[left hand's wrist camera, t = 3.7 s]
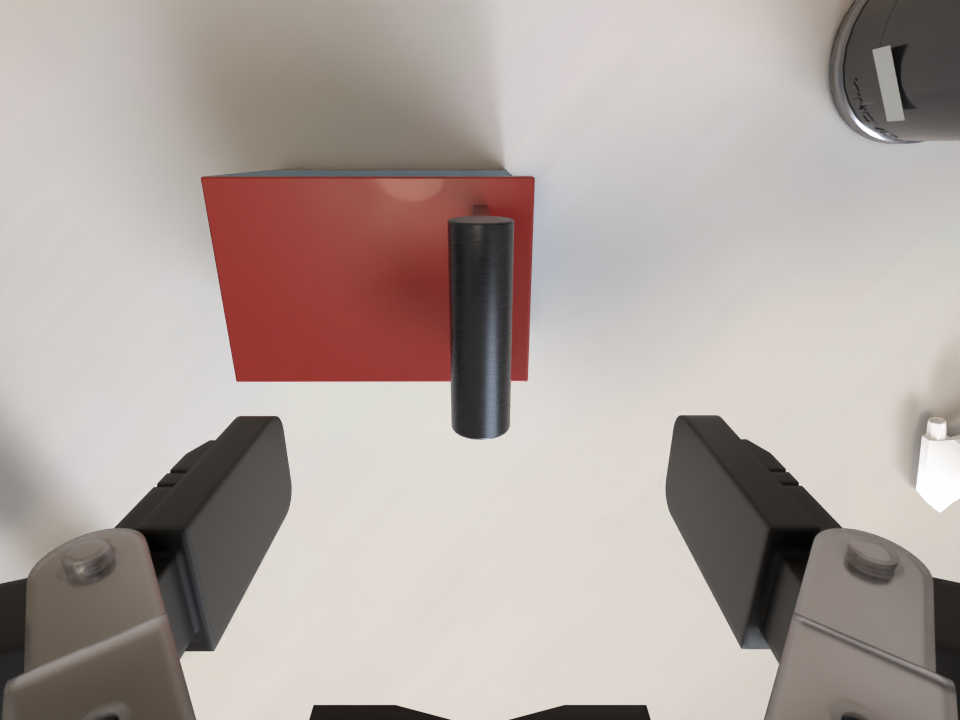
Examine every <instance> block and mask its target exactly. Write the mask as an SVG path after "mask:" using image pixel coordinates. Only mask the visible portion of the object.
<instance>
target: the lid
mask: <svg viewBox="0 0 960 720" xmlns="http://www.w3.org/2000/svg"><path fill="white" fill-rule="evenodd" d="M201 181H202V187H203V193H204V199H205V204H206V210H207V216H208V221H209V227H210V233H211V238H212V244H213V250H214V256H215V261H216V267H217V273H218V278H219V284H220V290H221V295H222V301H223V307H224V313H225V318H226V324H227V330H228V335H229V341H230V347H231V352H232V358H233V364H234V370H235V375H236V381H238V382H317V381H451V410H452V428H453V430H454V431H455V432H456V433H457V434H459V435H461V436H463V437H466V438H470V439H479V440H482V439H492V438H496V437H499V436H501V435H503V434H504V433H506V432H507V431H508V429H509V426H510V388H511V381H527V380H528V358H529V329H530V300H531V271H532V242H533V213H534V184H535V178H534V177H532V176H205V177H201Z"/></svg>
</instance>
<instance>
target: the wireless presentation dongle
mask: <svg viewBox="0 0 960 720" xmlns="http://www.w3.org/2000/svg"><path fill="white" fill-rule="evenodd" d="M916 490H917V491H918V492H919V494H920V495H921V496H922V497H923V498H924V499H925V501H926V502H927V503H929V504H930V505H931V506H932V507H934V508H935V509H936V510H937V511H939V512H942V511H943V510H944V509H945V508H946V507H948V506H949V505H950V504H951V503H952V502H954V501H956V500H958V499H960V435H957V436H953V437H950V436H948V435H947V420H945V419H943V418H941V417H931V418H929V419H928V423H927V431H926V434H924V435H922V440H921V449H920V458H919V467H918V476H917V485H916Z"/></svg>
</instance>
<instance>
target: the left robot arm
mask: <svg viewBox="0 0 960 720" xmlns="http://www.w3.org/2000/svg"><path fill="white" fill-rule="evenodd" d="M830 84H831V91H832V95H833V99H834V102H835V105H836V107H837V109H838V111H839V113H840V115H841V116H842V118H843V119H844V121H845V122H846V123H847V124H848V125H849V126H850V127H851V128H852V129H853V130H854V131H856V132H857V133H858V134H860V135H862V136H864V137H865V138H868V139H870V140H873V141H877V142H881V143H891V144H902V143H917V142H923V141H960V0H856V1H855V3H854V4H853V6H852V7H851V9H850V10H849V12H848V14H847V15H846V17H845V19H844V21H843V23H842V25H841V27H840V30H839V32H838V35H837V37H836V41H835V44H834V47H833V52H832V57H831V64H830ZM666 499H667V504H668V508H669V511H670V513H671V516H672V517H673V519H674V521H675V523H676V525H677V527H678V529H679V531H680V533H681V535H682V536H683V538H684V540H685V542H686V544H687V546H688V548H689V550H690V552H691V554H692V555H693V557H694V559H695V561H696V563H697V565H698V567H699V569H700V571H701V573H702V574H703V576H704V578H705V580H706V582H707V584H708V586H709V588H710V590H711V592H712V593H713V595H714V597H715V599H716V601H717V603H718V605H719V607H720V609H721V611H722V612H723V614H724V616H725V618H726V620H727V622H728V624H729V626H730V628H731V630H732V631H733V633H734V635H735V637H736V639H737V641H738V643H739V645H740V647H741V649H771V651H772V652H773V654H774V656H775V657H776V659H777V661H778V663H779V667H778V671H777V674H776V678H775V682H774V685H773V689H772V692H771V696H770V700H769V703H768V707H767V711H766V714H765V718H764V720H960V583H957V582H952V581H948V580H943V579H938V578H933V577H932V576H931V574H930V572H929V570H928V569H927V567H926V566H925V565H924V564H923V563H922V562H921V561H920V560H919V559H918V558H917V557H915V556H914V555H913V554H912V553H910V552H909V551H907V550H906V549H904V548H903V547H901V546H899V545H897V544H895V543H894V542H891V541H889V540H887V539H885V538H882V537H880V536H877V535H874V534H871V533H868V532H864V531H859V530H855V529H847V528H842V527H841V526H840V525H839V524H838V523H837V522H836V521H835V520H834V519H833V518H832V517H831V516H830V515H829V514H828V513H827V511H826V510H825V509H824V508H823V507H822V506H821V505H820V504H819V503H818V502H817V501H816V500H815V499H814V498H813V497H812V496H811V495H810V494H809V493H808V492H807V491H806V490H805V489H804V488H803V487H802V486H799V482H798V481H797V480H796V479H795V478H794V477H793V476H792V475H791V474H790V473H789V472H786V469H785V468H784V467H783V466H782V465H781V464H780V463H779V462H778V461H777V460H776V459H775V457H774V456H773V455H772V454H771V453H769V452H768V451H766V450H764V449H762V448H761V447H759V446H757V445H755V444H754V443H752V442H750V441H748V440H747V439H740V438H739V437H738V436H737V435H736V434H735V433H734V431H733V430H732V429H731V428H730V427H729V426H728V425H727V424H726V423H725V421H724V420H723V419H722V418H721V417H720V416H716V415H681V416H679V417H678V418H677V419H676V421H675V425H674V430H673V436H672V443H671V450H670V457H669V464H668V471H667V478H666ZM290 501H291V478H290V471H289V464H288V457H287V451H286V444H285V437H284V430H283V425H282V422H281V420H280V419H279V418H278V417H277V416H239V417H237V418H236V419H235V420H234V421H233V422H232V423H231V424H230V425H229V426H228V427H227V429H226V430H225V431H224V432H223V433H222V434H221V435H220V436H219V437H218V438H217V439H216V440H210V441H208V442H206V443H205V444H203V445H201V446H199V447H198V448H196V449H194V450H192V451H191V452H189V453H187V454H186V455H185V456H184V457H183V458H182V459H181V460H180V461H179V462H178V463H177V464H176V465H175V466H174V467H173V468H172V469H171V470H170V474H166V475H165V476H164V477H163V478H162V479H161V480H160V481H159V483H158V484H157V487H154V488H153V489H152V490H151V491H150V492H149V493H148V494H147V495H146V496H145V497H144V498H143V499H142V500H141V501H140V502H139V503H138V504H137V505H136V506H135V507H134V508H133V509H132V510H131V511H130V512H129V513H128V514H127V515H126V516H125V518H124V519H123V520H122V521H121V522H120V523H119V524H118V525H117V526H116V527H115V528H113V529H105V530H101V531H96V532H92V533H89V534H86V535H83V536H80V537H78V538H75V539H73V540H71V541H69V542H66V543H65V544H63V545H61V546H59V547H57V548H56V549H54V550H53V551H51V552H50V553H48V554H47V555H46V556H45V557H43V558H42V559H41V560H40V561H39V562H38V563H37V564H36V565H35V566H34V567H33V569H32V570H31V572H30V574H29V576H28V578H26V579H21V580H16V581H12V582H7V583H2V584H0V720H196V718H195V714H194V711H193V707H192V703H191V700H190V696H189V692H188V689H187V685H186V682H185V678H184V674H183V671H182V667H181V664H180V658H181V657H182V655H183V653H184V652H185V651H214V650H215V648H216V646H217V644H218V643H219V641H220V639H221V637H222V635H223V633H224V631H225V629H226V628H227V626H228V624H229V622H230V620H231V618H232V616H233V614H234V613H235V611H236V609H237V607H238V605H239V603H240V601H241V599H242V598H243V596H244V594H245V592H246V590H247V588H248V586H249V584H250V582H251V581H252V579H253V577H254V575H255V573H256V571H257V569H258V567H259V566H260V564H261V562H262V560H263V558H264V556H265V554H266V552H267V551H268V549H269V547H270V545H271V543H272V541H273V539H274V537H275V536H276V534H277V532H278V530H279V528H280V526H281V524H282V522H283V521H284V519H285V517H286V515H287V512H288V510H289V506H290ZM310 720H449V719H445V718H442V717H438V716H434V715H430V714H427V713H423V712H419V711H415V710H412V709H408V708H404V707H400V706H397V705H314V706H313V710H312V713H311V716H310ZM511 720H650V716H649V713H648V710H647V706H646V705H563V706H560V707H556V708H552V709H548V710H545V711H541V712H537V713H533V714H530V715H526V716H522V717H518V718H515V719H511Z"/></svg>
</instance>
